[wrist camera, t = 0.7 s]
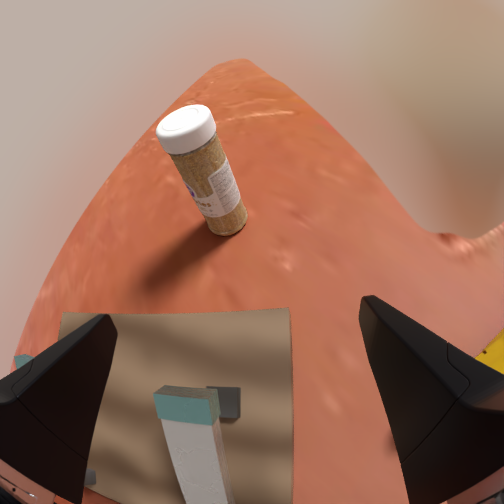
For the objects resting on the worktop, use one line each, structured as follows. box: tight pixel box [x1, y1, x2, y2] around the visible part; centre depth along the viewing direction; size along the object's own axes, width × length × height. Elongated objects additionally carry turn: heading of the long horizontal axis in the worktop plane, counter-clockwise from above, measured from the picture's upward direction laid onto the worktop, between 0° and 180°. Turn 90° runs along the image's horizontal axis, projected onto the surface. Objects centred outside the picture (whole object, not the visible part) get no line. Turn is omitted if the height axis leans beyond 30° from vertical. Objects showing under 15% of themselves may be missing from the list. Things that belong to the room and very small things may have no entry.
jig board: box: [58, 308, 294, 504], centre depth 18 cm, size 20×26×6 cm
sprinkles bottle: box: [156, 105, 248, 236], centre depth 24 cm, size 5×5×13 cm
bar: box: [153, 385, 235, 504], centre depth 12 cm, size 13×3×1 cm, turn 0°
